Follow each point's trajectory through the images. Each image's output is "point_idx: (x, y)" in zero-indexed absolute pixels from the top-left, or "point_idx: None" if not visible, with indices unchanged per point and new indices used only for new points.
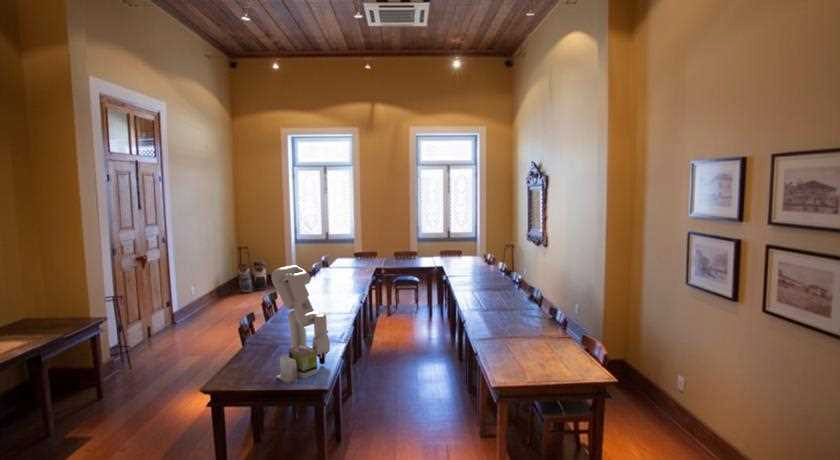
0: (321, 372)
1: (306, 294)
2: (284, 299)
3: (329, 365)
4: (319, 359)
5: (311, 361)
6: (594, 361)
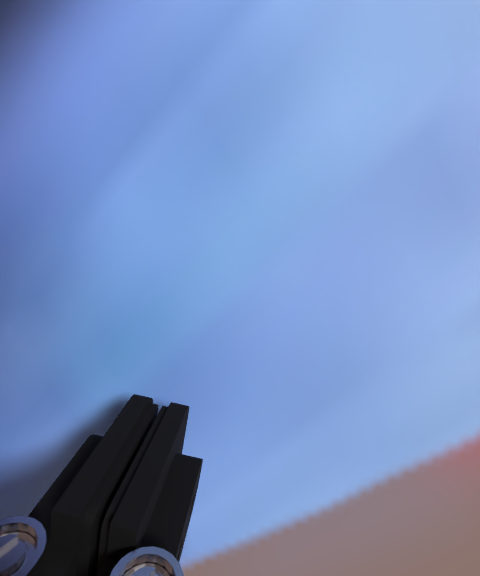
0: None
1: None
2: None
3: (250, 495)
4: (51, 496)
5: None
6: None
